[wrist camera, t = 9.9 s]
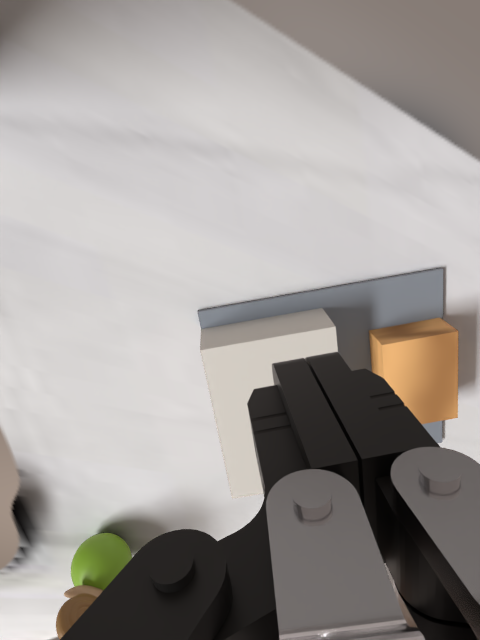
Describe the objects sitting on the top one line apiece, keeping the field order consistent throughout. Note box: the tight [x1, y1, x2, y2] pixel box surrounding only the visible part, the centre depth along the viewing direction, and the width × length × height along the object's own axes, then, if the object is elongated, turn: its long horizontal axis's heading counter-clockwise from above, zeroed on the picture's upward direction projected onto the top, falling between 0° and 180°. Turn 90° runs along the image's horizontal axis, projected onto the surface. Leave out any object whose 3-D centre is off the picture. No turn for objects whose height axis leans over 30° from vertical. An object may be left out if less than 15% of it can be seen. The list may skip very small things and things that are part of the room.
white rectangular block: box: [200, 308, 338, 499], centre depth 37 cm, size 10×14×4 cm
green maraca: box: [56, 533, 132, 639], centre depth 38 cm, size 5×6×12 cm
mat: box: [198, 268, 443, 443], centre depth 39 cm, size 20×17×1 cm
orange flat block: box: [369, 317, 458, 424], centre depth 37 cm, size 6×8×3 cm
